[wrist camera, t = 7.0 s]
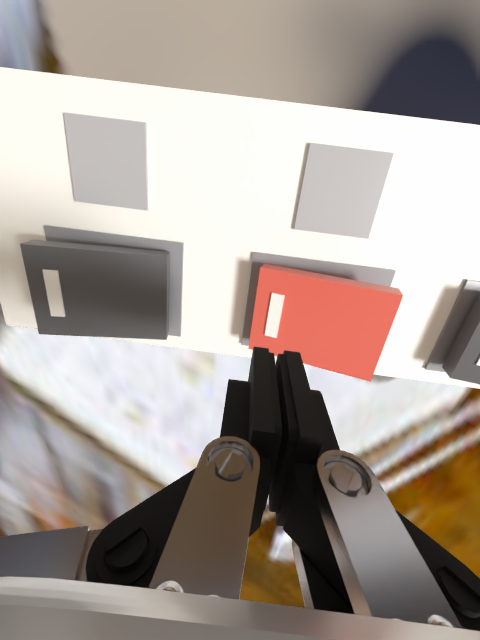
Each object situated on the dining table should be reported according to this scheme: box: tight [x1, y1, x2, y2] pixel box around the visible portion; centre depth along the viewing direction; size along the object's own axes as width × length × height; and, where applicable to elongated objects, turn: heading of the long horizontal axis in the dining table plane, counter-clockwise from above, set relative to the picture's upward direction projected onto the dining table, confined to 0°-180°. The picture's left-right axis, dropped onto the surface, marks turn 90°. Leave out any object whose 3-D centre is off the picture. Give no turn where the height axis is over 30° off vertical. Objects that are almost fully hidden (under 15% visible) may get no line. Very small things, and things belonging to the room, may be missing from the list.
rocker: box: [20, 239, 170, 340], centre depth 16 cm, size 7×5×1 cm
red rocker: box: [248, 263, 403, 381], centre depth 16 cm, size 7×5×1 cm
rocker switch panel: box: [0, 67, 480, 389], centre depth 18 cm, size 53×14×4 cm, turn 83°
